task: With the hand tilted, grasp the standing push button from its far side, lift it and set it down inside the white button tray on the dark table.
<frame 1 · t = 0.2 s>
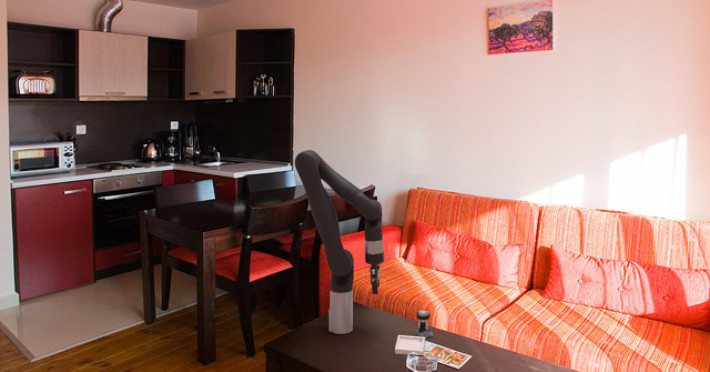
hand: (375, 290, 215), 18 cm above the table, tool pointing down, fingers open, 8 cm apart
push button: (424, 336, 214), on the table
white button tray: (410, 347, 204), on the table
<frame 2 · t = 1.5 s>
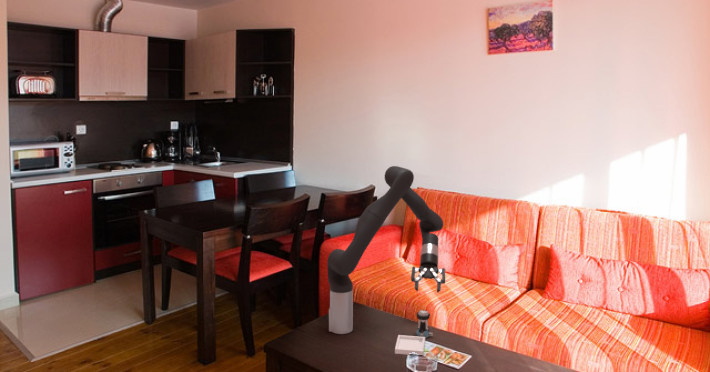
hand: (427, 291, 223), 15 cm above the table, tool tilted 45°, fingers open, 8 cm apart
nothing on the table moved.
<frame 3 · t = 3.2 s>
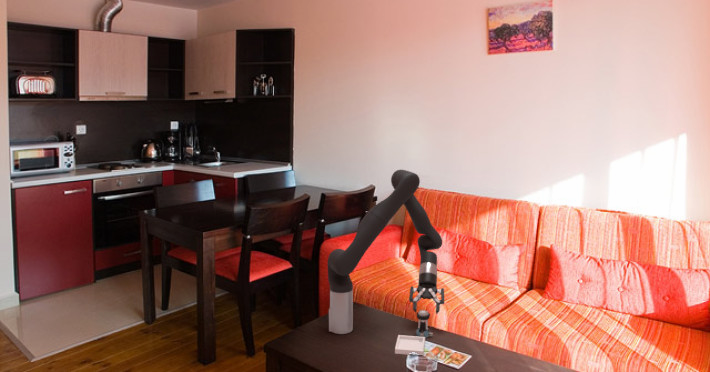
hand: (426, 312, 216), 9 cm above the table, tool tilted 45°, fingers open, 8 cm apart
nothing on the table moved.
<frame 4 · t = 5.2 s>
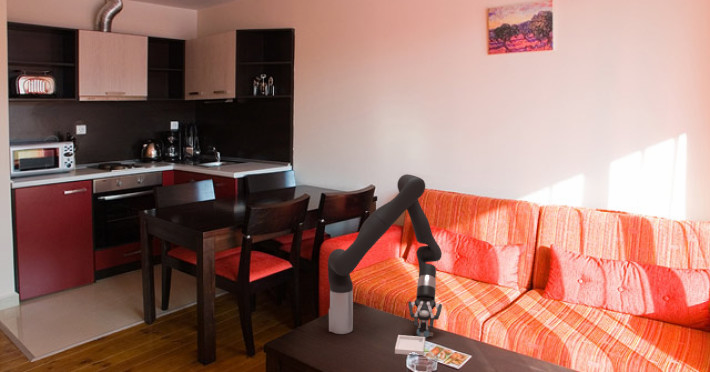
hand: (423, 327, 211), 4 cm above the table, tool tilted 45°, fingers closed on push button, 5 cm apart
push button: (424, 336, 214), on the table, touching gripper
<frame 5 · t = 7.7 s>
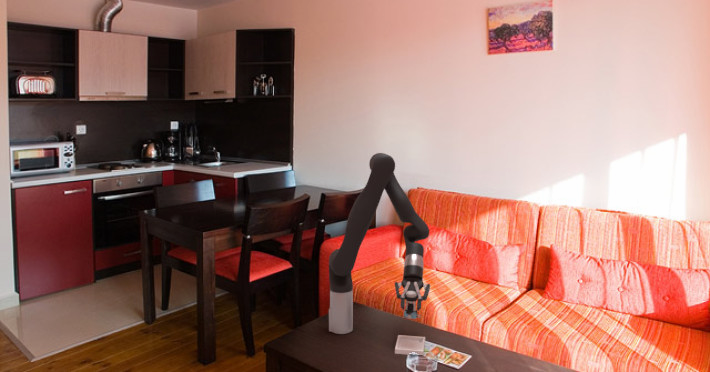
hand: (410, 309, 200), 16 cm above the table, tool tilted 45°, fingers closed on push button, 5 cm apart
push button: (411, 318, 203), point 11 cm above the table, touching gripper
when the fingers open (6 cm above the table, at t = 10.1 s): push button stays where it is, resting on white button tray.
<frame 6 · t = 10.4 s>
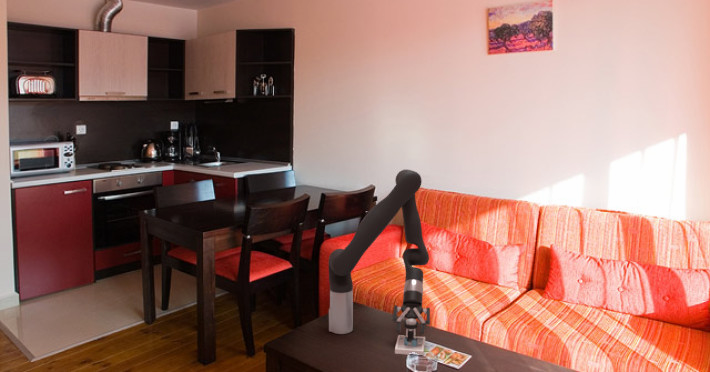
hand: (410, 333, 202), 6 cm above the table, tool tilted 45°, fingers open, 8 cm apart
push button: (412, 345, 205), resting on white button tray
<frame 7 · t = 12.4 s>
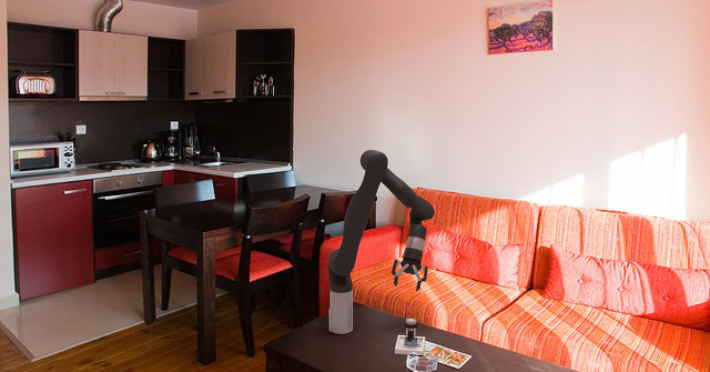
hand: (406, 288, 215), 19 cm above the table, tool tilted 30°, fingers open, 8 cm apart
nothing on the table moved.
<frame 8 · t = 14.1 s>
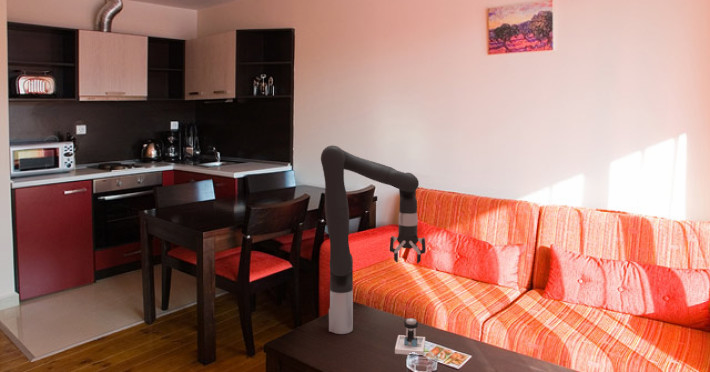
hand: (407, 262, 217), 28 cm above the table, tool pointing down, fingers open, 8 cm apart
nothing on the table moved.
at the end: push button inside the target area on the white button tray (1.0 cm from its centre), point 0.4 cm above the white button tray's base; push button tilted 0°; the gripper is holding nothing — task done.
